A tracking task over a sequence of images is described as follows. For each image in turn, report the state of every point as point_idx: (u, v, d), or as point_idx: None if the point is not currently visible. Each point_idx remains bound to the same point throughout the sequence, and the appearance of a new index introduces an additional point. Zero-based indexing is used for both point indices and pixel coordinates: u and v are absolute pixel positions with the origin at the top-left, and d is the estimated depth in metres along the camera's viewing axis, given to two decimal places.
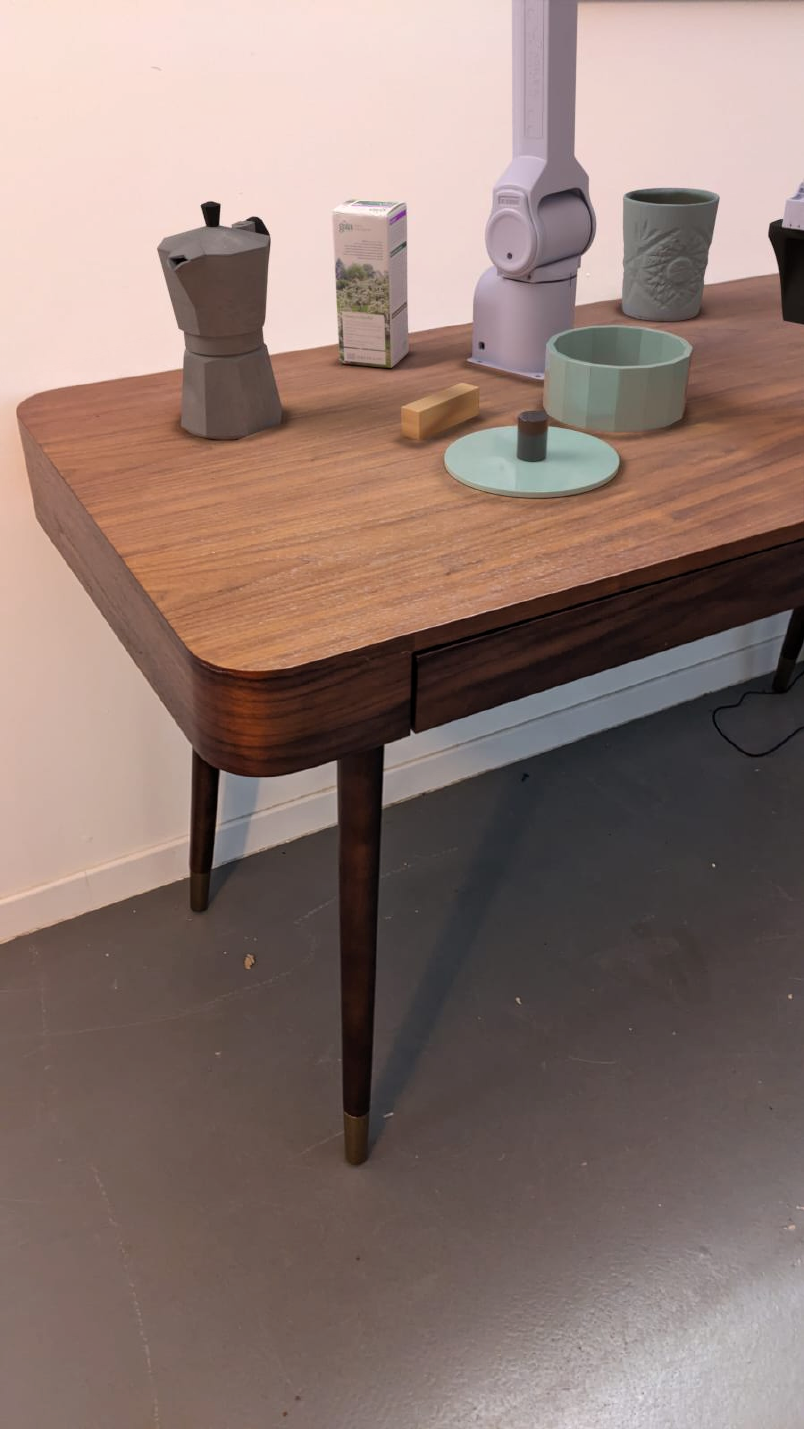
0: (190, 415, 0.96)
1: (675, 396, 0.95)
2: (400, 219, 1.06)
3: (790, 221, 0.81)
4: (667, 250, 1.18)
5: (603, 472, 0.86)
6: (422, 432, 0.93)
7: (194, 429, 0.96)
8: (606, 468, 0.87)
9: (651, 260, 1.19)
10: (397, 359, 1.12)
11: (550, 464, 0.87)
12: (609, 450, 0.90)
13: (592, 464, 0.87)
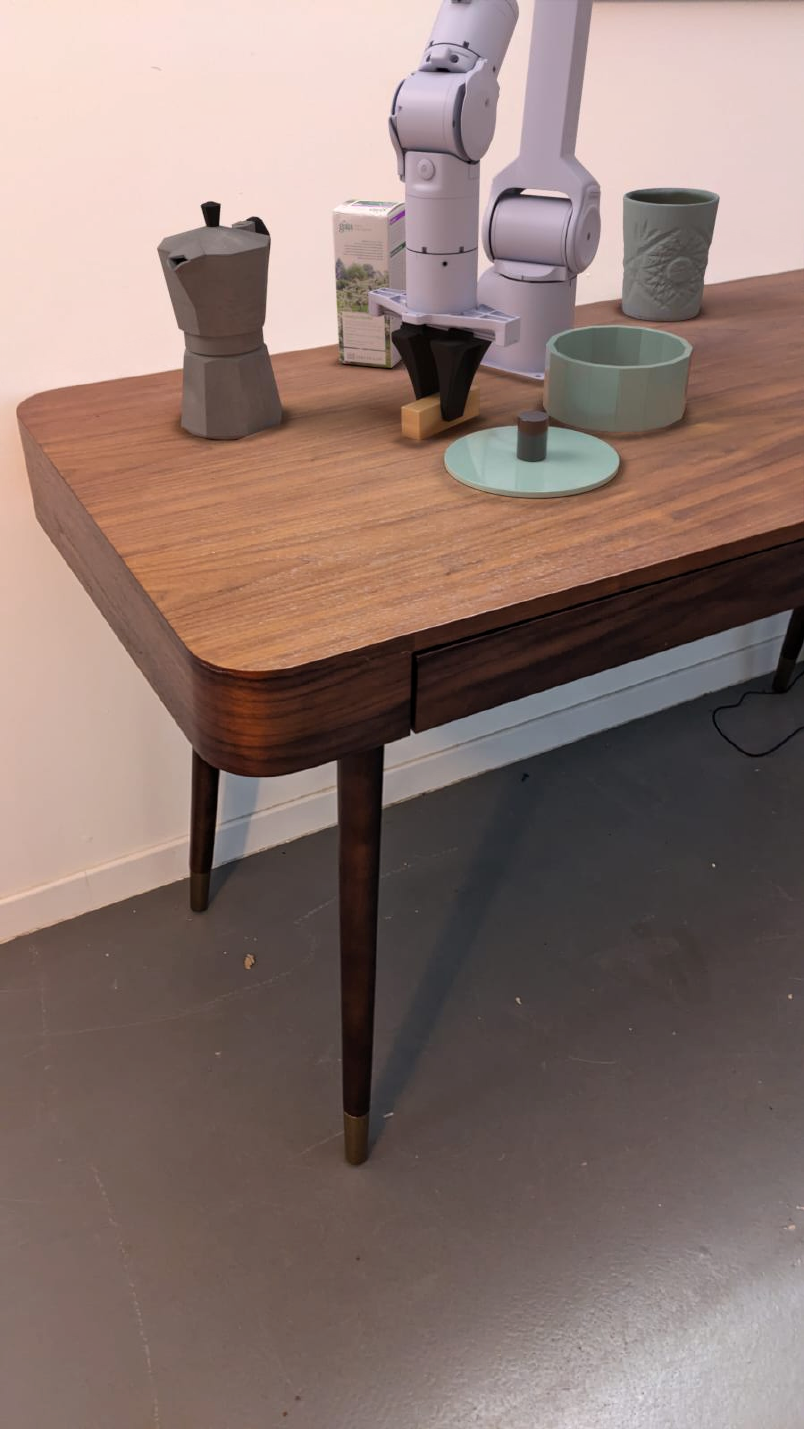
0: (190, 415, 0.96)
1: (675, 396, 0.95)
2: (400, 219, 1.06)
3: None
4: (667, 250, 1.18)
5: (603, 472, 0.86)
6: (423, 432, 0.93)
7: (194, 429, 0.96)
8: (606, 468, 0.87)
9: (651, 260, 1.19)
10: (397, 359, 1.12)
11: (550, 464, 0.87)
12: (609, 450, 0.90)
13: (592, 464, 0.87)
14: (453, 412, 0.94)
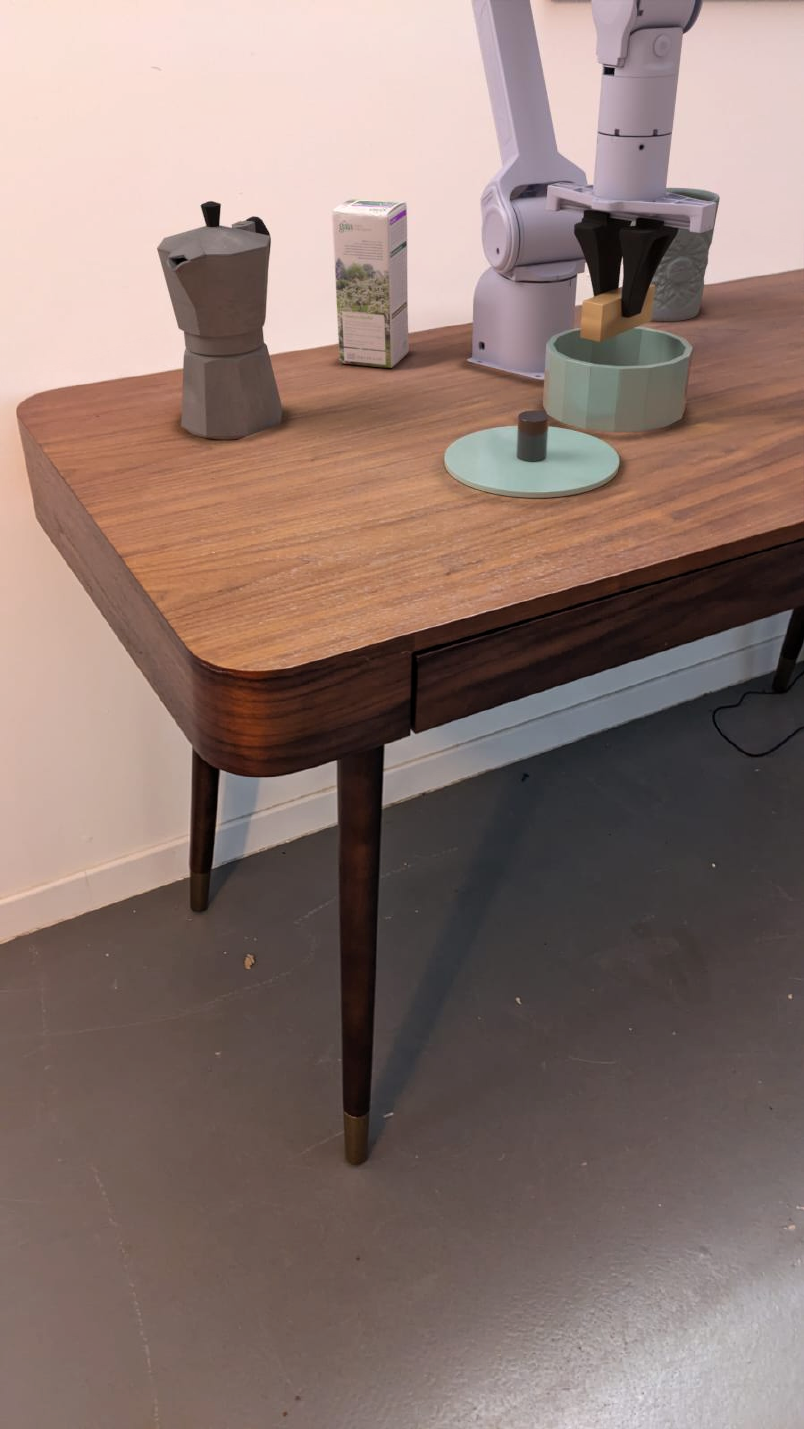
0: (190, 415, 0.96)
1: (675, 396, 0.95)
2: (400, 219, 1.06)
3: None
4: (667, 250, 1.18)
5: (603, 472, 0.86)
6: (604, 327, 0.92)
7: (194, 429, 0.96)
8: (606, 468, 0.87)
9: None
10: (397, 359, 1.12)
11: (550, 464, 0.87)
12: (609, 450, 0.90)
13: (592, 464, 0.87)
14: (633, 308, 0.93)
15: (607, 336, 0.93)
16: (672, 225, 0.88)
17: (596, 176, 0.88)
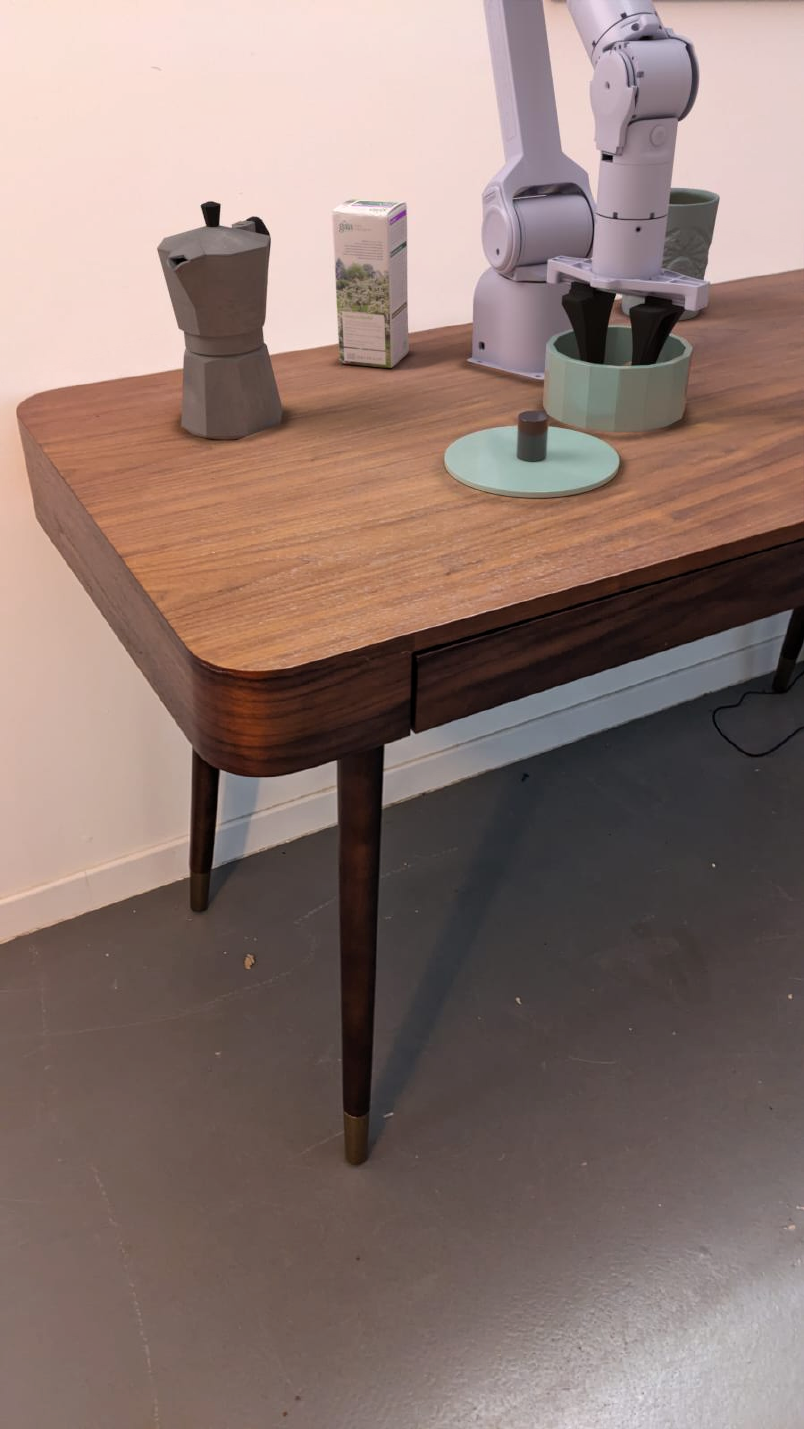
0: (190, 415, 0.96)
1: (675, 396, 0.95)
2: (400, 219, 1.06)
3: None
4: (667, 250, 1.18)
5: (603, 472, 0.86)
6: None
7: (194, 429, 0.96)
8: (606, 468, 0.87)
9: None
10: (397, 359, 1.12)
11: (550, 464, 0.87)
12: (609, 450, 0.90)
13: (592, 464, 0.87)
14: None
15: None
16: None
17: (594, 254, 0.92)
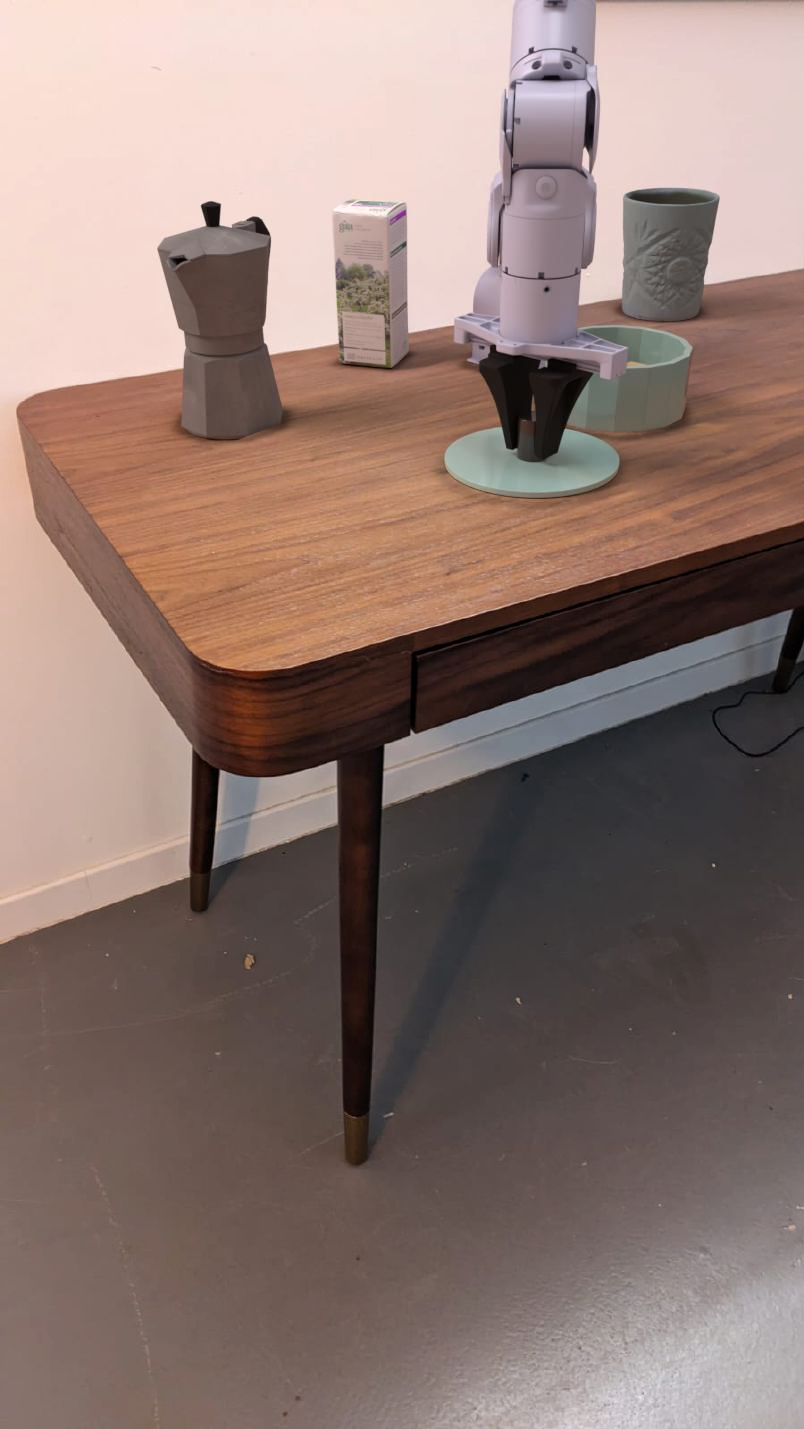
0: (190, 415, 0.96)
1: (675, 396, 0.95)
2: (400, 219, 1.06)
3: None
4: (667, 250, 1.18)
5: (603, 472, 0.86)
6: None
7: (194, 429, 0.96)
8: (606, 469, 0.87)
9: (651, 260, 1.19)
10: (397, 359, 1.12)
11: (550, 464, 0.87)
12: (609, 450, 0.90)
13: (592, 464, 0.87)
14: (548, 449, 0.87)
15: None
16: (583, 368, 0.82)
17: (501, 315, 0.82)
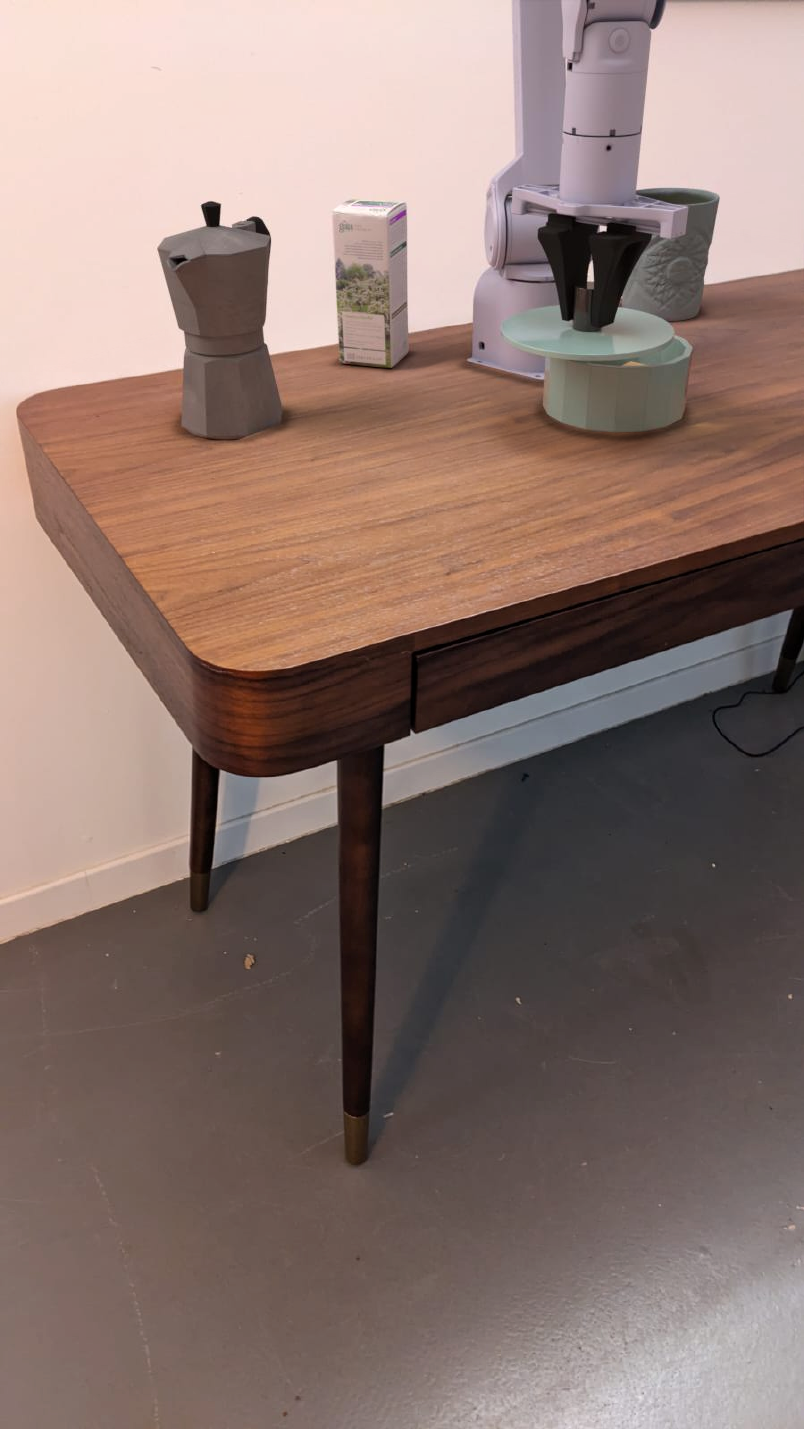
0: (190, 415, 0.96)
1: (675, 396, 0.95)
2: (400, 219, 1.06)
3: None
4: (667, 250, 1.18)
5: (659, 339, 0.87)
6: None
7: (194, 429, 0.96)
8: (662, 337, 0.88)
9: (651, 260, 1.19)
10: (397, 359, 1.12)
11: (606, 334, 0.89)
12: (663, 322, 0.91)
13: (648, 333, 0.89)
14: (605, 317, 0.88)
15: None
16: (642, 230, 0.83)
17: (562, 178, 0.83)
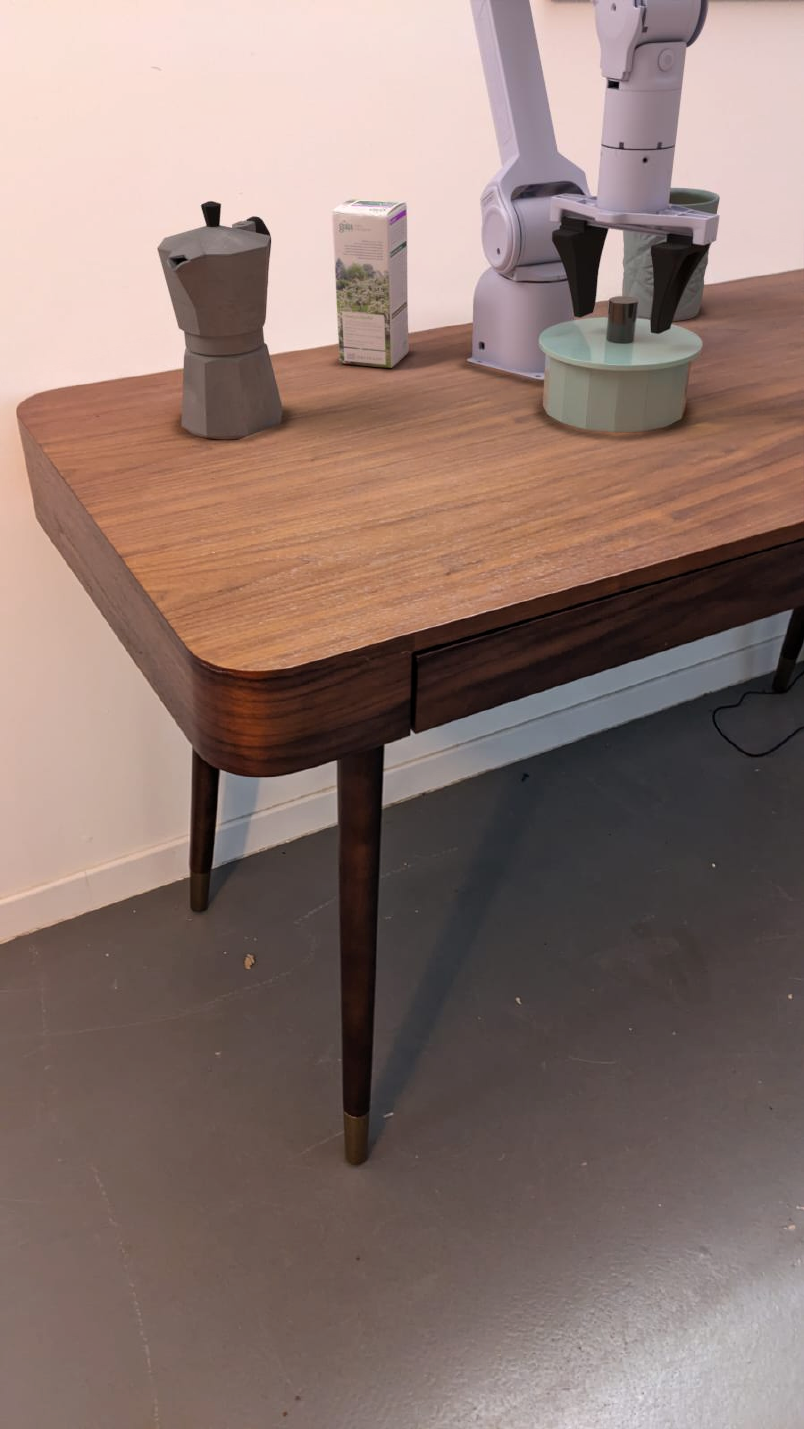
0: (190, 415, 0.96)
1: (675, 396, 0.95)
2: (400, 219, 1.06)
3: None
4: None
5: (689, 350, 0.93)
6: None
7: (194, 429, 0.96)
8: (691, 348, 0.94)
9: (651, 260, 1.19)
10: (397, 359, 1.12)
11: (639, 345, 0.95)
12: (691, 334, 0.97)
13: (677, 345, 0.95)
14: (663, 324, 0.92)
15: None
16: None
17: (600, 188, 0.89)
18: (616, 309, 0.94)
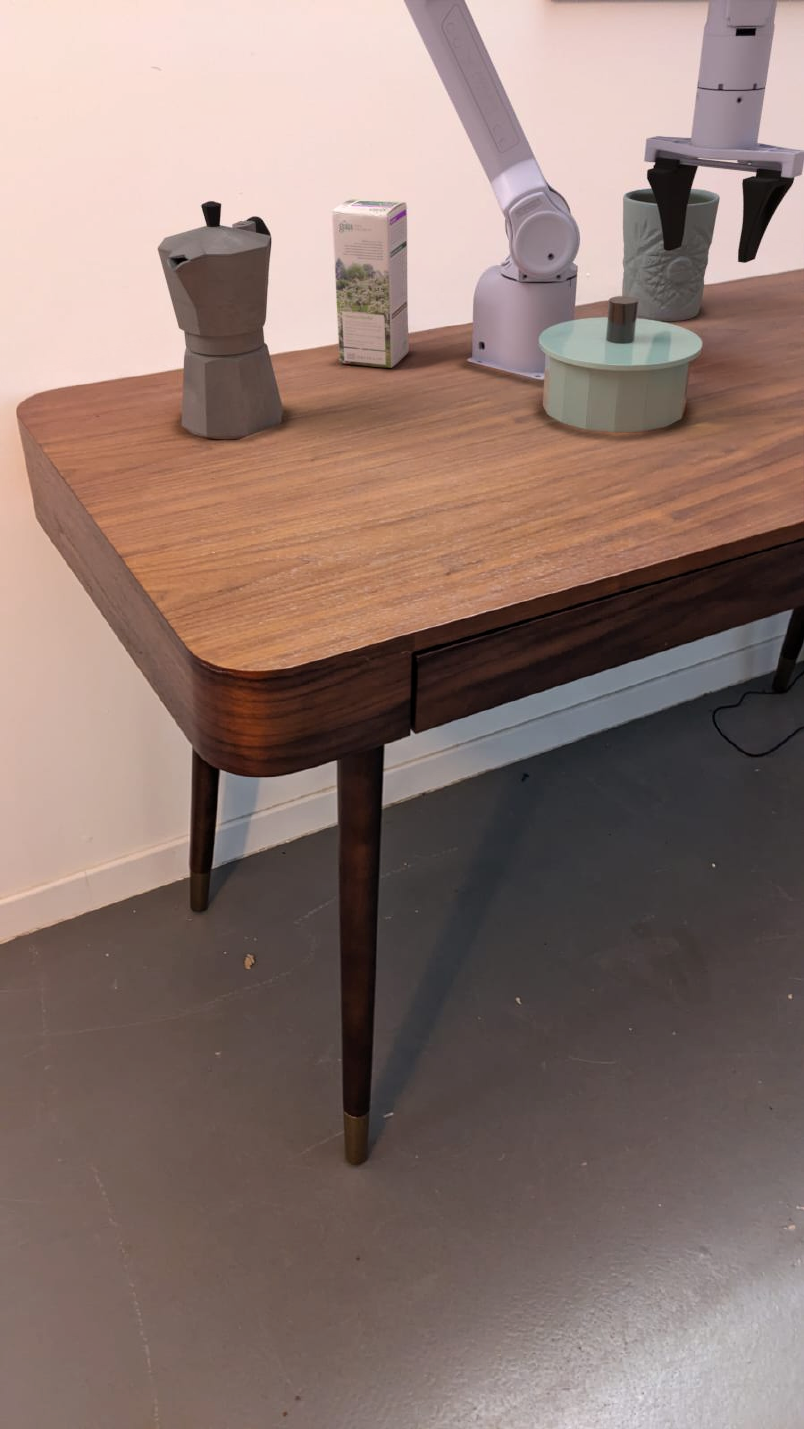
0: (190, 415, 0.96)
1: (675, 396, 0.95)
2: (400, 219, 1.06)
3: (795, 171, 0.95)
4: (667, 250, 1.18)
5: (689, 350, 0.93)
6: None
7: (194, 429, 0.97)
8: (691, 348, 0.94)
9: (651, 260, 1.19)
10: (397, 359, 1.12)
11: (639, 345, 0.95)
12: (691, 334, 0.97)
13: (677, 345, 0.95)
14: None
15: None
16: None
17: None
18: (616, 309, 0.94)
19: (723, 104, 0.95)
